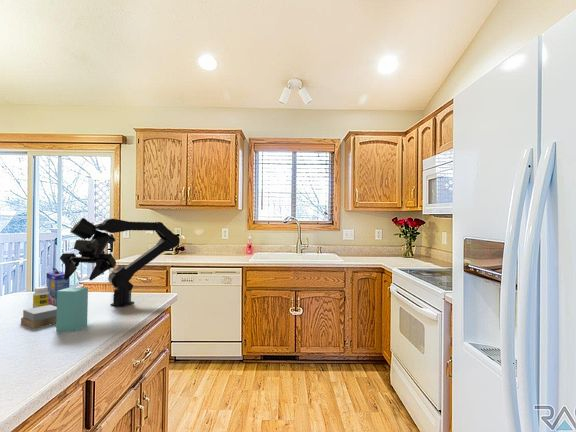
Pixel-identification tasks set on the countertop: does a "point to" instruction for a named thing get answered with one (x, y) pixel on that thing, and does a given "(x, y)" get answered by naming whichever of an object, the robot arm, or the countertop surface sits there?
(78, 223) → the robot arm
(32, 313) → the tower top
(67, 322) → the column
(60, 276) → the ink cartridge box
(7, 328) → the countertop surface
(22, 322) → the tower base
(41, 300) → the supplement bottle
